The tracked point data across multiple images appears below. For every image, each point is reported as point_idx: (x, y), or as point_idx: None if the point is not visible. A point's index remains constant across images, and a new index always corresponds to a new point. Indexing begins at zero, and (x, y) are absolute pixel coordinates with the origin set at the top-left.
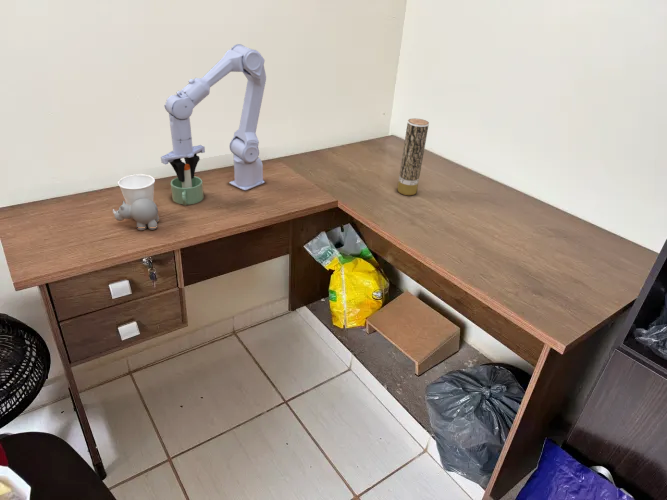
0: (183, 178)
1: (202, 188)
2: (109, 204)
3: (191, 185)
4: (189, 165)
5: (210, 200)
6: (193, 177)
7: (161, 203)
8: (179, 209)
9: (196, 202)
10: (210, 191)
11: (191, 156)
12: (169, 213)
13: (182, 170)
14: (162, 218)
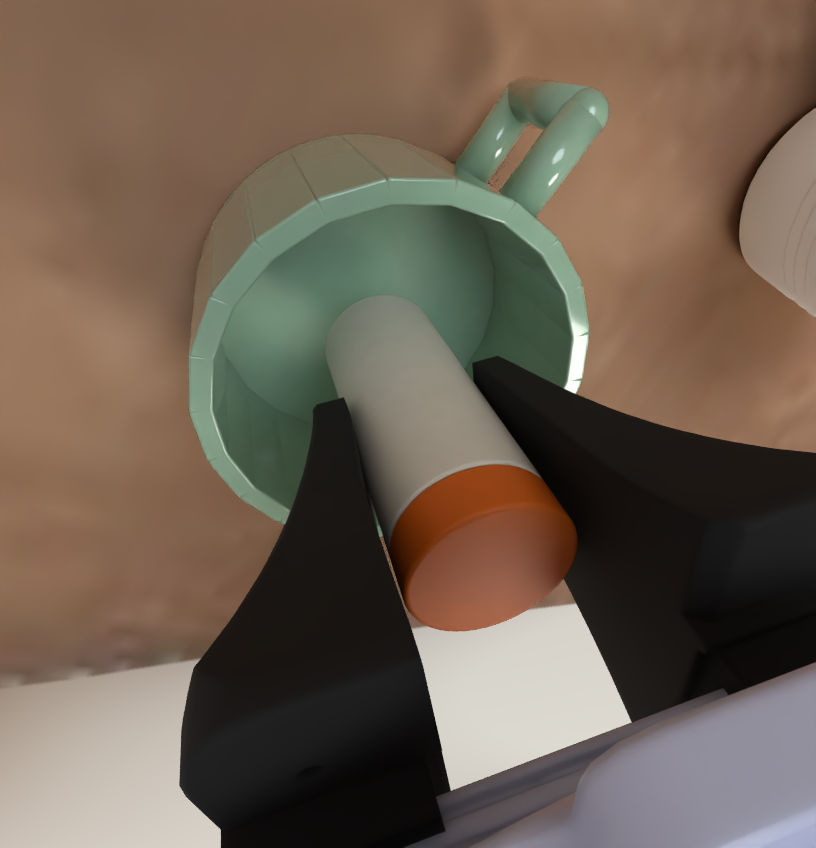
0: (517, 372)
1: (223, 245)
2: (777, 437)
3: (354, 335)
4: (425, 561)
5: (155, 97)
6: (323, 407)
7: (588, 310)
8: None
9: (344, 134)
10: (80, 328)
11: (783, 724)
12: (671, 74)
13: (619, 437)
14: (778, 7)
